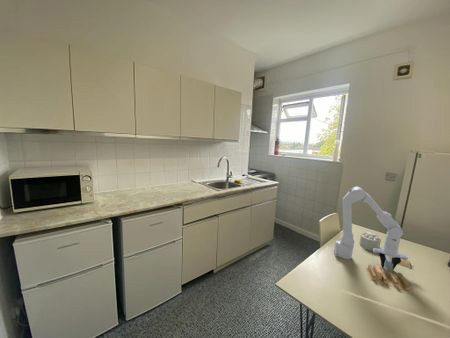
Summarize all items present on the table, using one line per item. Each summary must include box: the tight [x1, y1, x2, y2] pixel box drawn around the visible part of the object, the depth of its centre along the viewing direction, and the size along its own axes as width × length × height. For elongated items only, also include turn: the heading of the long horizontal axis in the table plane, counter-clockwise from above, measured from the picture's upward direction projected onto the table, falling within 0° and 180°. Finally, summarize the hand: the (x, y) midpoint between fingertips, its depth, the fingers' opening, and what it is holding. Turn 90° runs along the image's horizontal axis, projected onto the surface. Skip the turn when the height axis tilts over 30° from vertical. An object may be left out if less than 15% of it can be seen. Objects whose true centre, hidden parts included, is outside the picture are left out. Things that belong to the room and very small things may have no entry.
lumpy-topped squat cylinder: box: [359, 231, 382, 252], centre depth 128 cm, size 10×13×9 cm
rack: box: [365, 264, 413, 294], centre depth 95 cm, size 16×11×4 cm
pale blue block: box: [383, 255, 393, 273], centre depth 104 cm, size 2×8×6 cm, turn 154°
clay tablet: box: [387, 255, 411, 270], centre depth 112 cm, size 14×10×3 cm
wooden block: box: [372, 263, 383, 281], centre depth 97 cm, size 2×7×4 cm, turn 154°
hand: (387, 267), depth 104 cm, fingers open, 4 cm apart
